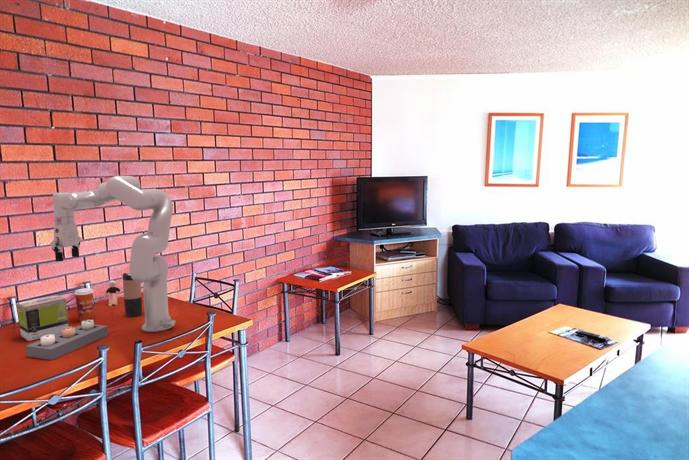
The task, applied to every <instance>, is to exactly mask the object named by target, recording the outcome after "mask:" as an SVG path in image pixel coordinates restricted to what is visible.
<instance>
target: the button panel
mask: <svg viewBox="0 0 689 460" xmlns="http://www.w3.org/2000/svg"><path fill="white" fill-rule="evenodd" d="M74 327H75V333H76V336H74V337H71V338H69V339H68V338H63V337H62V332H61V333H58V334H55V344H54V345H51V346H49V347H43V346H41V339H40V340H38V341H35V342H33V343H29V344H27V345H25V351H26V354H25V355H26V357H29V358H36V359H41V360H49V361H53V360H55V359H57V358H61V357H62V356H65V355H66V354H69V353H72V352H74V351H76V350H78V349H81V348H83V347H85V346H87V344H88V345H90V344H92V343H94V342H96V341H99V340H102V339H103V338H106V337H107V336H109V327H108V325H99V324H94V329H91V330H89V331H86V330H82V324H80V325H76V326H74Z"/></svg>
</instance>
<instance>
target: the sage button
mask: <svg viewBox="0 0 689 460" xmlns="http://www.w3.org/2000/svg"><path fill="white" fill-rule="evenodd" d="M94 321H95V320H94V319H92V320H84V321H82V322H81V321H80V322H81V324H80V325H82V330H86V331H89V330H91V329H94V325H95V322H94Z"/></svg>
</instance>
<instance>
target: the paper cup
mask: <svg viewBox="0 0 689 460" xmlns="http://www.w3.org/2000/svg"><path fill="white" fill-rule="evenodd" d="M73 295H75V303H76V309H77V315H78V321H79V322H82V321H84V320H94V290H93V289H92V288H91V287H84V288H83V287H82V288H80V289H79V288H78V289H76V290H75V291H74V294H73Z"/></svg>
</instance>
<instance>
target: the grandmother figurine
mask: <svg viewBox="0 0 689 460" xmlns="http://www.w3.org/2000/svg"><path fill="white" fill-rule="evenodd" d="M108 285H109V287H108V288H107V289H106V291H105V294H104V296H105V297H106V296H107V295H108V304H107V306H108V307H112V306H117V305H119V304H118V293H119V295H120V294H122V291H121V289H120V288H119V287H117V286H116V285H117V282H116V281H115V280H110V281H109V282H108ZM117 292H118V293H117Z"/></svg>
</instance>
